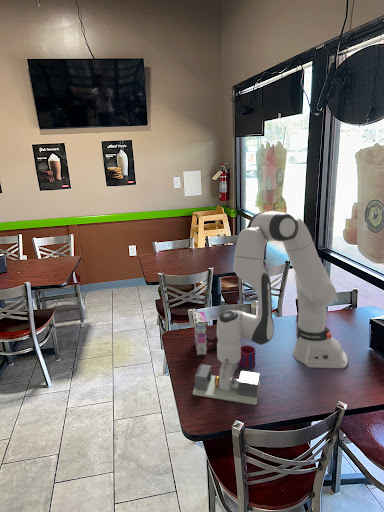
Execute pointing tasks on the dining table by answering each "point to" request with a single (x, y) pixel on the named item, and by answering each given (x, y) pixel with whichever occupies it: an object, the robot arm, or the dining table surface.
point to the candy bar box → (200, 333)
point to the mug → (247, 356)
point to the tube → (233, 384)
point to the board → (224, 393)
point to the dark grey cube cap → (248, 384)
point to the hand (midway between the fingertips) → (229, 384)
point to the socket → (202, 377)
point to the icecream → (214, 340)
